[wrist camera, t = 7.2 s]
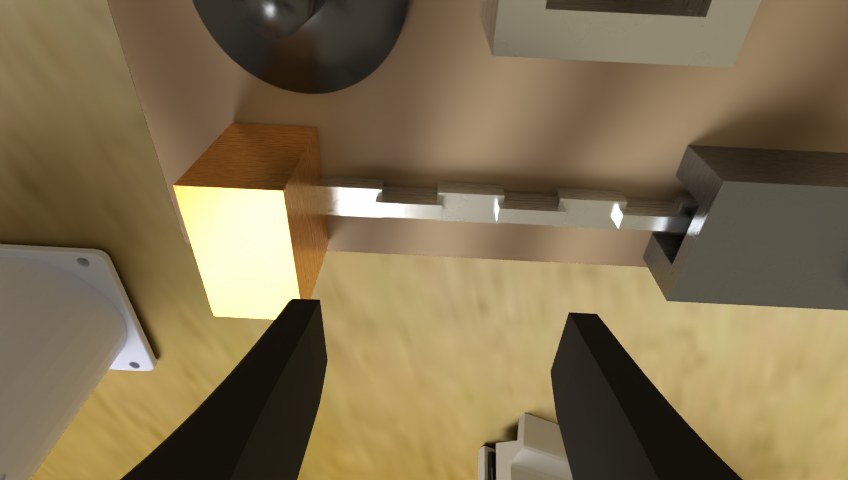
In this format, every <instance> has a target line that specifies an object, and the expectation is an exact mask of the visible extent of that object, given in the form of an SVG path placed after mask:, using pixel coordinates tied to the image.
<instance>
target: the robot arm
mask: <svg viewBox="0 0 848 480" xmlns="http://www.w3.org/2000/svg"><path fill="white" fill-rule="evenodd" d="M156 364H157V360H156V358H155V356H154V354H153V352H152V349H151V347H150V345H149V343H148V341H147V338H146V336H145V334H144V332H143V329H142V327H141V325H140V323H139V321H138V318H137V316H136V314H135V312H134V310H133V307H132V305H131V303H130V301H129V299H128V296H127V294H126V292H125V290H124V287H123V285H122V283H121V281H120V279H119V276H118V274H117V272H116V270H115V268H114V265H113V263H112V261H111V259H110V257H109V256H108V254H106V253H105V252H104V251H101V250H98V249H86V248H67V247H47V246H28V245H8V244H0V480H30V479H31V478H32V477H33V475H34V474H35V472H36V471H37V470H38V468H39V467H40V465H41V464H42V462H43V461H44V460H45V458H46V457H47V455H48V454H49V453H50V451H51V450H52V448H53V447H54V446H55V444H56V443H57V441H58V440H59V438H60V437H61V436H62V434H63V433H64V431H65V430H66V429H67V427H68V426H69V424H70V423H71V421H72V420H73V419H74V417H75V416H76V414H77V413H78V412H79V410H80V409H81V407H82V406H83V405H84V403H85V402H86V400H87V399H88V397H89V396H90V395H91V393H92V392H93V390H94V389H95V388H96V386H97V385H98V383H99V382H100V380H101V379H102V378H103V376H104V375H105V373H106V372H107V371H108V369H116V370H136V371H151V370H153V369H154V367H155V366H156ZM326 366H327V353H326V345H325V337H324V329H323V321H322V313H321V305H320V300H314V299H295V298H293V299H291V300H290V301H289V302H288V303H287V304H286V306H285V307H284V308H283V310H282V311H281V312H280V314H279V315H278V316H277V317H276V319H275V320H274V321H273V323H272V324H271V325H270V326H269V328H268V329H267V330H266V331H265V333H264V334H263V335H262V336H261V338H260V339H259V340H258V341H257V343H256V344H255V345H254V346H253V347H252V349H251V350H250V351H249V352H248V353H247V354H246V356H245V357H244V358H243V359H242V360H241V361H240V363H239V364H238V365H237V366H236V367H235V368H234V370H233V371H232V372H231V373H230V374H229V375H228V376H227V377H226V379H225V380H224V381H223V382H222V383H221V384H220V385H219V386H218V387H217V388H216V389H215V390H214V391H213V392H212V393H211V395H210V396H209V397H208V398H207V399H206V400H205V401H204V402H203V403H202V404H201V405H200V406H199V407H198V408H197V409H196V410H195V411H194V412H193V413H192V414H191V415H190V416H189V417H188V418H187V419H186V420H185V421H184V422H183V423H182V424H181V425H180V426H179V427H178V428H177V429H176V430H175V431H174V432H173V433H172V434H171V435H170V436H169V437H168V438H167V439H166V440H164V441H163V442H162V443H161V444H160V445H159V446H158V447H157V448H156V449H155V450H154V451H153V452H151V453H150V454H149V455H148V456H147V457H146V458H145V459H144V460H142V461H141V462H140V463H139V464H138V465H137V466H135V467H134V468H133V469H132V470H131V471H130V472H128V473H127V474H126V475H125V476H124V477H123V478H122V479H120V480H297V478H298V475H299V471H300V468H301V465H302V461H303V458H304V455H305V451H306V448H307V445H308V441H309V438H310V435H311V431H312V428H313V425H314V421H315V418H316V414H317V411H318V407H319V404H320V399H321V394H322V388H323V383H324V377H325V371H326ZM551 379H552V387H553V395H554V402H555V409H556V416H557V420H558V424H559V428H560V432H561V436H562V440H563V444H564V448H565V451H566V455H567V459H568V463H569V467H570V471H571V474H572V478H573V480H742V479H741V478H740V477H739V476H738V475H737V474H736V473H735V472H734V471H733V470H732V469H731V468H730V467H729V466H728V465H727V464H726V463H725V462H724V461H723V460H722V459H721V458H720V457H719V456H718V455H717V454H716V453H715V452H714V451H713V450H712V449H711V448H710V447H709V446H708V445H707V444H706V443H705V442H704V441H703V440H702V439H701V438H700V437H699V436H698V434H697V433H696V432H695V431H694V430H693V429H692V428H691V427H690V426H689V425H688V424H687V423H686V422H685V420H684V419H683V418H682V417H681V416H680V415H679V414H678V413H677V411H676V410H675V409H674V408H673V407H672V406H671V405H670V404H669V402H668V401H667V400H666V399H665V398H664V396H663V395H662V394H661V393H660V392H659V391H658V389H657V388H656V387H655V386H654V385H653V384H652V382H651V381H650V380H649V379H648V378H647V376H646V375H645V374H644V373H643V372H642V370H641V369H640V368H639V367H638V365H637V364H636V363H635V362H634V360H633V359H632V358H631V357H630V355H629V354H628V353H627V352H626V350H625V349H624V348H623V347H622V345H621V344H620V343H619V342H618V340H617V339H616V338H615V336H614V335H613V334H612V333H611V331H610V330H609V329H608V327H607V326H606V325H605V324H604V322H603V321H602V320H601V319H600V317H599V316H598V315H597V314H587V313H569V314H568V318H567V321H566V324H565V327H564V331H563V334H562V337H561V340H560V343H559V347H558V350H557V353H556V356H555V359H554V363H553V366H552V369H551Z"/></svg>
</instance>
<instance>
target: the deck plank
mask: <svg viewBox="0 0 848 480" xmlns="http://www.w3.org/2000/svg"><path fill="white" fill-rule="evenodd" d="M107 2H108V5H109V9H110V12H111V15H112V18H113V21H114V24H115V27H116V30H117V33H118V36H119V39H120V43H121V46H122V49H123V52H124V55H125V58H126V61H127V64H128V67H129V70H130V73H131V77H132V80H133V83H134V86H135V89H136V92H137V95H138V98H139V101H140V104H141V107H142V111H143V114H144V117H145V120H146V123H147V126H148V129H149V132H150V135H151V138H152V141H153V145H154V148H155V151H156V154H157V157H158V160H159V163H160V166H161V169H162V172H163V175H164V179H165V182H166V185H167V188H168V191H169V194H170V197H171V200H172V203H173V206H174V209H175V213H176V216H177V219H178V222H179V225H180V228H181V231H182V234H183V237H184V240H185V243H188V244H191V242H190V238H189V235H188V232H187V229H186V226H185V223H184V219H183V216H182V213H181V210H180V207H179V203H178V200H177V197H176V194H175V191H174V188H173V185H174V184H175V183H176V182H177V180H178V179H179V178H180V177H181V176H182V175H183V174H184V173H185V172H186V171H187V170H188V169H189V168H190V167H191V166H192V164H193V163H194V162H195V161H196V160H197V159H198V158H199V157H200V156H201V155H202V154H203V153H204V152H205V151H206V149H207V148H208V147H209V146H210V145H211V144H212V143H213V142H214V141H215V140H216V139H217V138H218V137H219V136H220V134H221V133H222V132H223V131H224V130H225V129H226V128H227V127H228V126H229V125H230V124H231V123H245V124H265V125H284V126H304V127H318V137H319V148H320V158H321V168H322V176H339V177H359V178H378V179H384V186H397V187H417V188H436V189H437V186H438V182H457V183H477V184H497V185H502V186H503V190H504V192H515V193H535V194H555V190H556V188H575V189H595V190H615V191H621V192H622V194H623V195H624V197H625V198H633V199H653V200H672V198H673V196H674V194H691V193H690V192H689V191H688V190H687V189H686V187H685V186H684V185H683V184H682V183H681V181H680V180H679V179H678V178H677V177H676V172H677V170H678V168H679V165H680V163H681V160H682V158H683V155H684V153H685V150H686V148H687V145H702V146H722V147H741V148H761V149H781V150H800V151H820V152H840V153H848V0H761V2H760V4H759V7H758V9H757V12H756V14H755V16H754V19H753V21H752V23H751V26H750V28H749V31H748V33H747V35H746V38H745V40H744V43H743V45H742V47H741V50H740V52H739V54H738V57H737V59H736V62H735V64H734V66H733V68H723V67H703V66H684V65H664V64H644V63H624V62H604V61H584V60H565V59H545V58H525V57H505V56H492V54H491V51H490V48H489V44H488V41H487V38H486V35H485V32H484V28H483V25H482V22H481V19H480V16H479V13H480V3H481V0H409V4H408V9H407V14H406V18H405V21H404V24H403V27H402V30H401V33H400V35H399V38H398V40H397V42H396V44H395V46H394V48H393V49H392V51H391V52H390V54H389V55H388V57H387V58H386V59H385V60H384V62H383V63H382V64H381V65H380V66H379V67H378V68H377V69H376V70H375V71H374V72H373V73H371V74H370V75H369V76H368V77H366V78H365V79H363V80H362V81H360V82H358V83H357V84H355V85H352V86H350V87H348V88H346V89H342V90H339V91H335V92H330V93H323V94H305V93H296V92H292V91H288V90H284V89H281V88H278V87H275V86H273V85H270V84H268V83H266V82H264V81H262V80H260V79H258V78H256V77H255V76H253V75H252V74H250V73H249V72H247V71H246V70H244V69H243V68H242V67H241V66H239V65H238V64H237V63H236V62H234V61H233V60H232V59H231V58H230V57H229V56H228V55H227V54H226V53H225V52H224V51H223V50H222V48H221V47H220V46H219V45H218V44H217V42H216V41H215V40H214V39H213V37H212V36H211V34H210V33H209V31H208V30H207V28H206V27H205V25H204V24H203V22H202V20H201V18H200V16H199V14H198V12H197V11H196V9H195V6H194V4H193V1H192V0H107ZM326 218H327V229H328V239H329V244H328V247H327V250H326V251H344V252H364V253H384V254H403V255H423V256H442V257H462V258H481V259H501V260H521V261H540V262H560V263H579V264H599V265H618V266H638V267H648V266H647V264H646V263H645V261H644V259H643V255H644V252H645V250H646V247H647V245H648V242H649V240H650V237H651V235H652V233H653V234H673V235H686V233H675V232H670V231H651V230H631V229H618V230H616V229H597V228H577V227H557V226H553V225H533V224H513V223H500V224H498V223H479V222H459V221H440V220H435V219H415V218H396V217H382V218H381V217H361V216H341V215H326Z"/></svg>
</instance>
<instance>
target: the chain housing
mask: <svg viewBox="0 0 848 480" xmlns="http://www.w3.org/2000/svg"><path fill="white" fill-rule="evenodd" d="M676 177H677V178H678V179H679V180H680V181H681V183H682V184H683V185H684V186H685V187H686V189H687V190H688V191H689V192H690V193H691V194H692V196H693V197H694V198H695V199H696V200H697V202H698V203H699V204H700V205H699V207H698V209H697V211H696V214H695V216H694V218H693V220H692V222H691V225H690V227H689V229H688V231H687V233H686V235H673V234H653V233H652V235H651V237H650V240H649V242H648V245H647V247H646V250H645V252H644V255H643V259H644V261H645V263H646V264H647V266H648V268H649V270H650V271H651V273H652V275H653V277H654V279H655V280H656V282H657V284H658V286H659V288H660V289H661V291H662V293H663V295H664V297H665V298H666V300H667V301H678V302H697V303H717V304H736V305H756V306H775V307H795V308H814V309H834V310H848V153H840V152H820V151H800V150H781V149H761V148H741V147H722V146H702V145H687V148H686V150H685V153H684V155H683V158H682V160H681V163H680V165H679V168H678V170H677V172H676Z"/></svg>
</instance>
